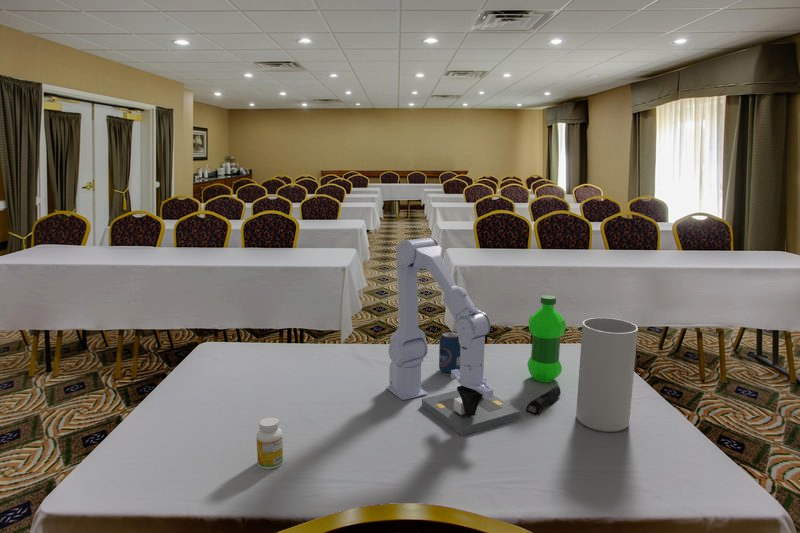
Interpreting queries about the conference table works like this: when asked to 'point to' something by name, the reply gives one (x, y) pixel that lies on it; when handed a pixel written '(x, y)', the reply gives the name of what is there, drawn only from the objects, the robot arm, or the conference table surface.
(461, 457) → the conference table surface
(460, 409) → the light grey block
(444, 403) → the switch panel
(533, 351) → the plastic bottle
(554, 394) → the electric trimmer
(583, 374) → the cylinder vase
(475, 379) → the robot arm
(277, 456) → the supplement bottle
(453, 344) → the soda can
